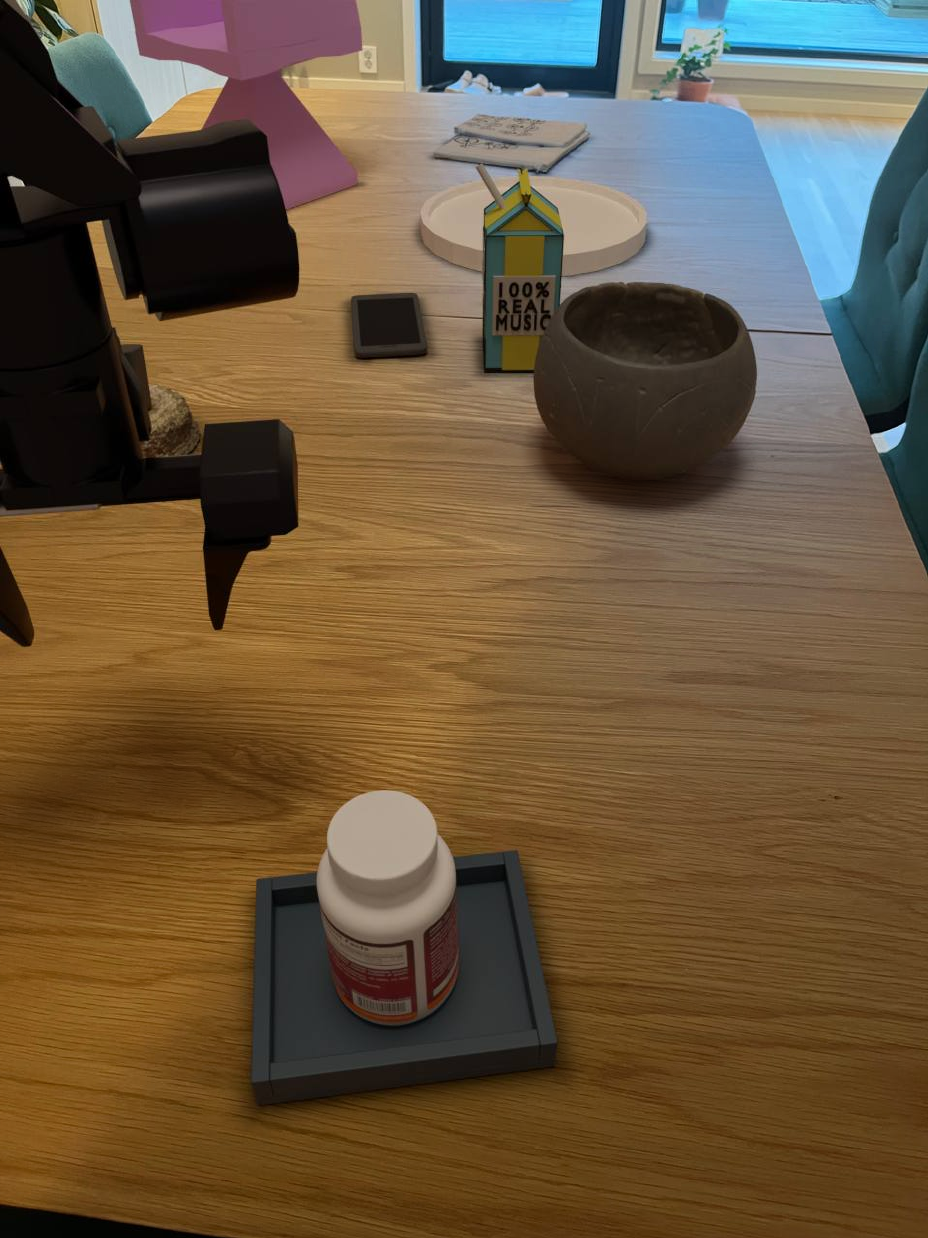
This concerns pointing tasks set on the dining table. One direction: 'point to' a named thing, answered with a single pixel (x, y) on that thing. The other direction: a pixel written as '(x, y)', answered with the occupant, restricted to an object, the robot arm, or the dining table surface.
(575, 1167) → the dining table surface
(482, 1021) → the dish
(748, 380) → the bowl
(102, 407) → the robot arm
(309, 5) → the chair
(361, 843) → the pill bottle
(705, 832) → the dining table surface
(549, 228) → the carton
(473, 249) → the plate
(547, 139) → the folded cloth napkin
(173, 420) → the cake
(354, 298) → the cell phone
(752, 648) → the dining table surface
